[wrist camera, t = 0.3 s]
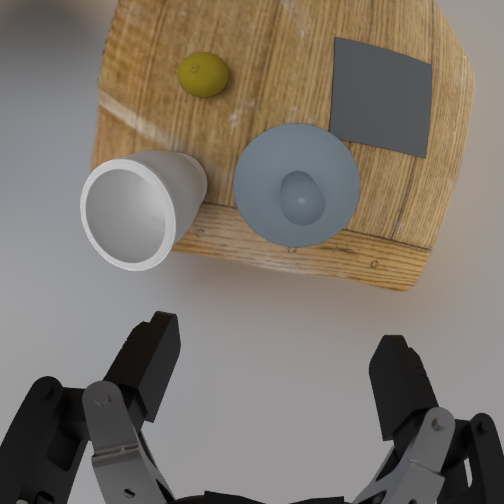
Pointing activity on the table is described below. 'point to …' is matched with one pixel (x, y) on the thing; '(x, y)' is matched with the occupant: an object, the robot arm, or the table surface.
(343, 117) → the mat
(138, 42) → the table surface
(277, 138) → the lid
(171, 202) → the jar
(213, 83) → the lemon
